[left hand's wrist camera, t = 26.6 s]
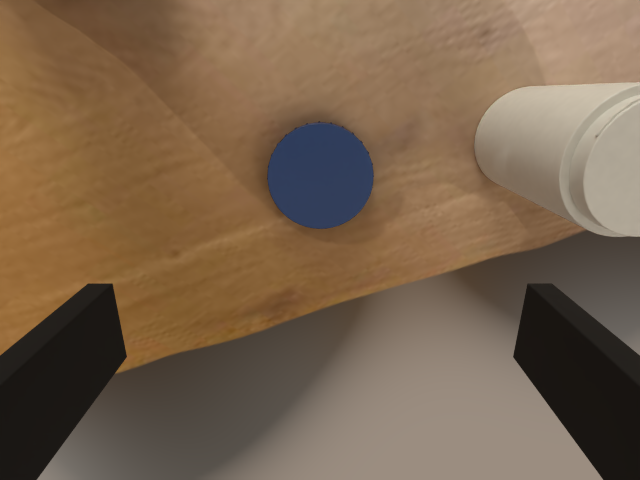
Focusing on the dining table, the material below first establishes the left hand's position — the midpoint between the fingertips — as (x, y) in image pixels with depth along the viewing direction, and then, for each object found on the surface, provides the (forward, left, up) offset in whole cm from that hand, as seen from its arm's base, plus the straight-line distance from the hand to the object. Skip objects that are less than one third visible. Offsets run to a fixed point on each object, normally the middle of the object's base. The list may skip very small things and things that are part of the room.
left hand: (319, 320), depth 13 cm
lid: (0, 0, -25) cm, 25 cm away
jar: (+19, 0, -26) cm, 32 cm away
